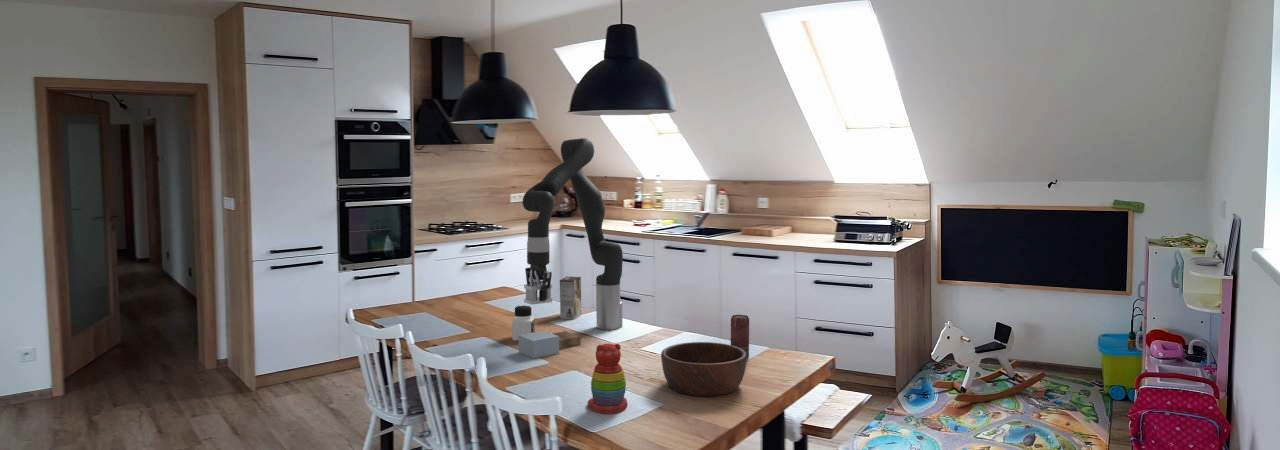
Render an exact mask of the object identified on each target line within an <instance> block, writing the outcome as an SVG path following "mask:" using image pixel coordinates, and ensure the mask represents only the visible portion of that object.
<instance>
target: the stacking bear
mask: <svg viewBox="0 0 1280 450" xmlns="http://www.w3.org/2000/svg"><path fill="white" fill-rule="evenodd" d="M621 356H622V354H621V345H620V344H619V343H615V344H614V343H603V344H597V346H596V350H595V359H596V362H597V364H596V365H595V366H594V369H593V372H592V377H591V381H590V389H591V395H592V397H591V398H590V399H589V400H588V401H587V408H589V410H591V411H592V412H595V413H598V414H602V413H603V414H604V415H612V414H613V413H614V414H618V413H621V412H623V411H624V410H626V409H627V407H628V400H627V398H626V397H625V393H626V389H627V387H626V385H627V383H626V382H627V381H626V378H625V377H626V376H625V372H624V370H623V367H622V365H621V364H619V363H620V360H621V358H622V357H621ZM603 414H602V415H603Z"/></svg>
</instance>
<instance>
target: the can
mask: <svg viewBox="0 0 1280 450" xmlns="http://www.w3.org/2000/svg"><path fill="white" fill-rule="evenodd" d="M730 345H732V346H736V347H738V348H741V349H742V350H744V351H745V352H746V354H747V358H748V359H749V357H750V318H749V316H748V315H745V314H734V315H731V317H730Z"/></svg>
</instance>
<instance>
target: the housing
mask: <svg viewBox="0 0 1280 450" xmlns="http://www.w3.org/2000/svg"><path fill="white" fill-rule="evenodd" d="M546 284H547V283H546ZM541 285H542V283H541ZM523 288H524V290H525V298H523V300H524V301H523V303H525V304H528V305H532V306H533V305H538V304H539V305H541V304H546V303H547V304H548V303H553V298H552V297H551V296H552V292H551V291H552V289H553V284H551V283H550V289H547V290H546V301H539V296H537V297H536V290H537V291H539V285H538V284H527V283H526V284H523Z"/></svg>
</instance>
